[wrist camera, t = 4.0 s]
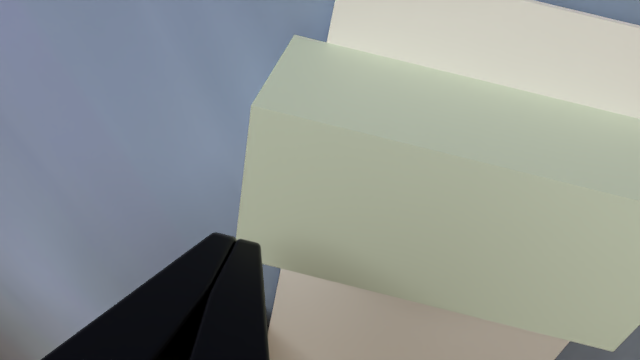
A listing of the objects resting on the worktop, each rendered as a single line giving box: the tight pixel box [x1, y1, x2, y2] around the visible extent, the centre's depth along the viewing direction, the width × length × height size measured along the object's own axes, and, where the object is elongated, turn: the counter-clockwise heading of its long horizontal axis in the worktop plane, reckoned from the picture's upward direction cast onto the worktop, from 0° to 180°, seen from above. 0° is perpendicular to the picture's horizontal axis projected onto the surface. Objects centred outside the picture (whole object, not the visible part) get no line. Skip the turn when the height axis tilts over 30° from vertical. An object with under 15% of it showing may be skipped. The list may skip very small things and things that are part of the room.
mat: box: [268, 0, 640, 360], centre depth 16 cm, size 10×19×1 cm, turn 169°
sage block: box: [236, 35, 640, 352], centre depth 11 cm, size 4×4×9 cm
